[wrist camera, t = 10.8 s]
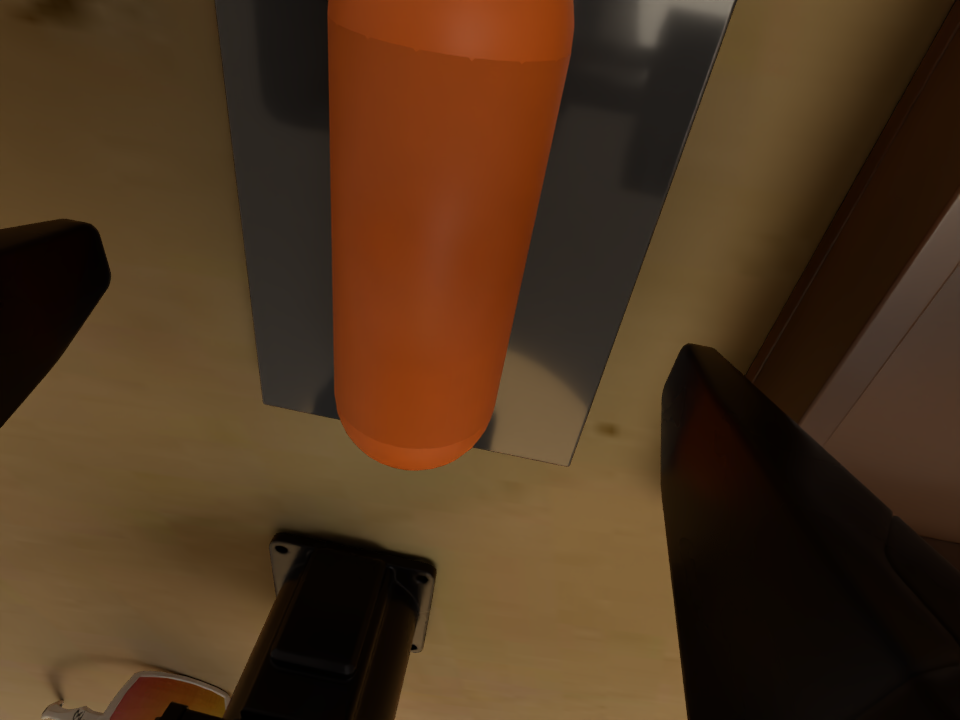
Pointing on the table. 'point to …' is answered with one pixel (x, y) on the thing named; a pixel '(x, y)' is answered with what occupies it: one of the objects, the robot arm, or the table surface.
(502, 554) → the table surface
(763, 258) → the table surface
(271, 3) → the slate board
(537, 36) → the orange capsule
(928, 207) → the tray
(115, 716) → the sunglasses
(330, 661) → the robot arm
